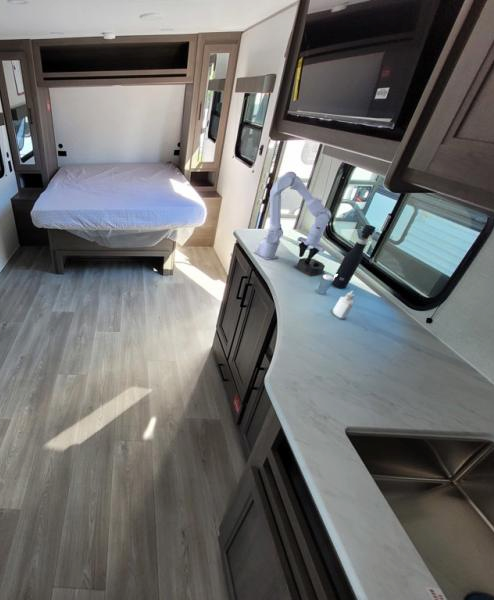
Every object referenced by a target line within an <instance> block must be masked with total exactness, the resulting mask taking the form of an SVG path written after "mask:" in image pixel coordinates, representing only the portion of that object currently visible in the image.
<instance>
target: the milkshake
mask: <svg viewBox="0 0 494 600" xmlns="http://www.w3.org/2000/svg"><path fill="white" fill-rule="evenodd" d="M337 275H338V274H337ZM337 275H336V276H337ZM336 276H335V275H334V276H333V275H331V274H324V275H323V274H322V277H321V281H320V283H319V285H318V288H317V290H316V292H317V293H318V294H320V295H325V294H326V293H327V292H328V290H329V289H330V286H332V285H331V284H332V282H333V281H334V278H335V277H336Z"/></svg>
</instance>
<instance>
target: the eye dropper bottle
mask: <svg viewBox="0 0 494 600" xmlns="http://www.w3.org/2000/svg"><path fill="white" fill-rule="evenodd" d="M354 293H355V291H354V290H351V291H350V292H347V293H346V295H345V296H344V295H343V296H340V297H339V299H338V301H337V302H336V303H335V306H334V307H333V309H332V313H333V314H334V316H335V317H337V318H339V319H342V320H343V319H346V318H347V317H348V315H349V313H350V312H351V310H352V308H353V306H354V302H353V301H354V300H353V299H354V297H355V294H354Z"/></svg>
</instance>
